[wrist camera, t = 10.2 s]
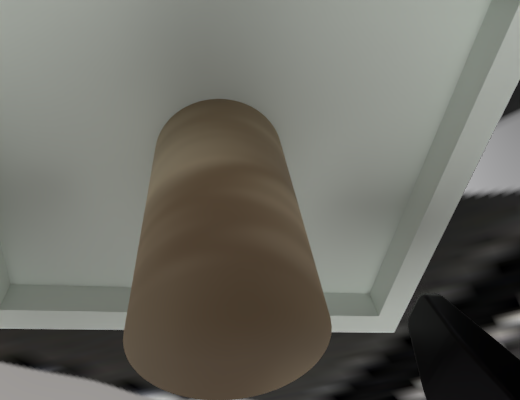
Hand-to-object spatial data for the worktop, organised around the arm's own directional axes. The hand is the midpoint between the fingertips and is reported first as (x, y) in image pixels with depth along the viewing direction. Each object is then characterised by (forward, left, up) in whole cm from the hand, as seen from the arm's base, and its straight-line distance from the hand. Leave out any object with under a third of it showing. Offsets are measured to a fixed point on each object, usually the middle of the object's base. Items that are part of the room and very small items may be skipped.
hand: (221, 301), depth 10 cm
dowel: (0, 0, -6) cm, 6 cm away
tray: (0, 0, -7) cm, 7 cm away
